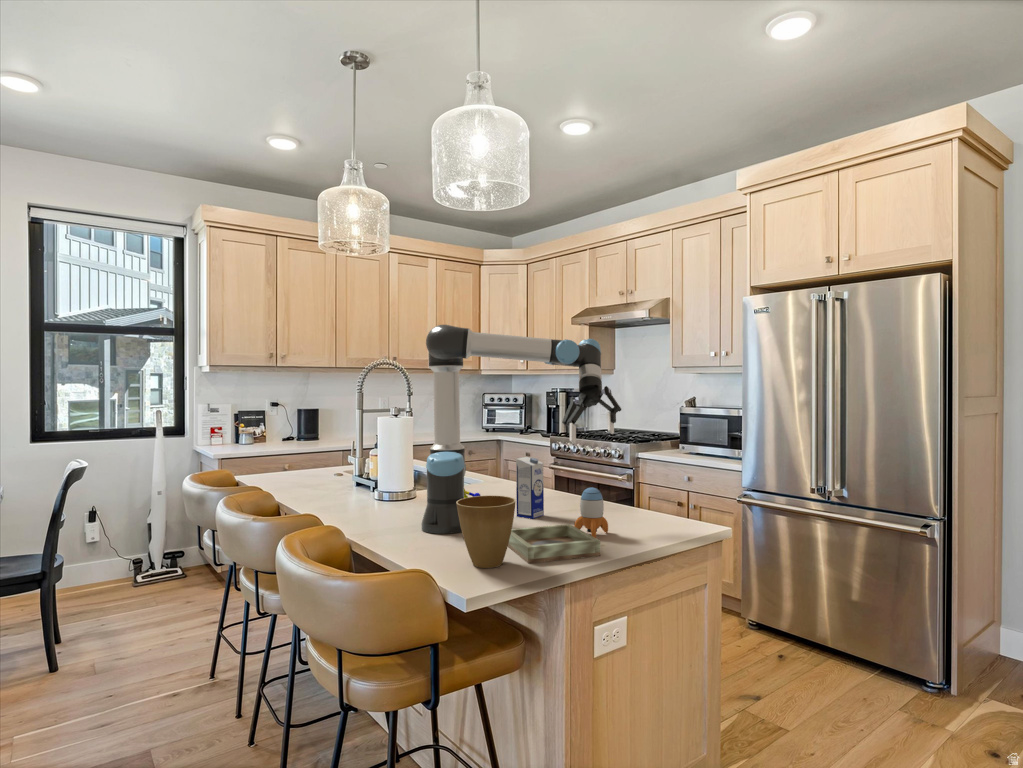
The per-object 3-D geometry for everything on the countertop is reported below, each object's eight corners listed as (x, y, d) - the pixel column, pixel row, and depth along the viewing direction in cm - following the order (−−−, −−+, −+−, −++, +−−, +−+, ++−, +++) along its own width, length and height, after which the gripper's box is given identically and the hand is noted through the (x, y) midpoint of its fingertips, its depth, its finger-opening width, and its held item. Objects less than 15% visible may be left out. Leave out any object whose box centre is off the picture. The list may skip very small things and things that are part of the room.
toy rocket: (606, 534, 185) (614, 487, 182) (608, 549, 175) (616, 500, 172) (573, 528, 186) (580, 482, 183) (573, 543, 175) (580, 495, 173)
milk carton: (527, 513, 212) (527, 456, 212) (544, 515, 208) (543, 457, 208) (516, 516, 206) (515, 458, 206) (532, 519, 202) (532, 459, 202)
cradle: (528, 563, 152) (527, 547, 152) (504, 543, 171) (504, 529, 171) (600, 555, 158) (600, 540, 158) (569, 537, 177) (569, 524, 177)
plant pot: (489, 552, 162) (488, 492, 162) (528, 564, 151) (527, 500, 151) (444, 564, 152) (444, 500, 152) (483, 577, 141) (482, 508, 141)
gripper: (629, 375, 197) (633, 432, 185) (564, 396, 210) (563, 451, 198) (619, 364, 192) (622, 422, 180) (552, 386, 205) (551, 441, 193)
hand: (591, 437), depth 189 cm, fingers open, 13 cm apart
